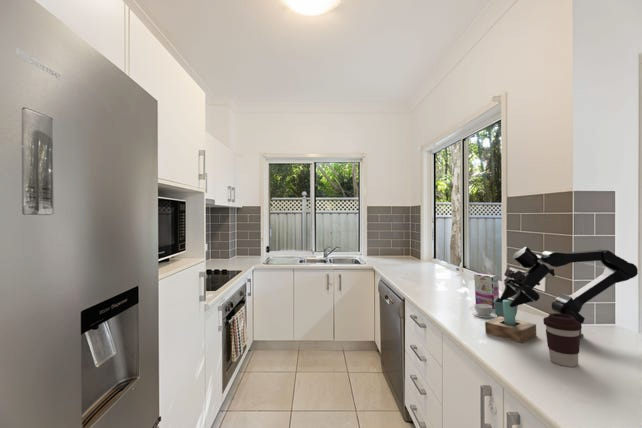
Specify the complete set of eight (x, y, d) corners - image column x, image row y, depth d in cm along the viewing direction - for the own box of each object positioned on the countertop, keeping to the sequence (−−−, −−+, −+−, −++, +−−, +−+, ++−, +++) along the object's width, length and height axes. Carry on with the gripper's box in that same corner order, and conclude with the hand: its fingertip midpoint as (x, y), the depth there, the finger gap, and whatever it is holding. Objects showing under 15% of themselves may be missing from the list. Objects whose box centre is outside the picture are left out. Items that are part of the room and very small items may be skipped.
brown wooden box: (536, 335, 125) (535, 324, 125) (522, 343, 118) (521, 331, 118) (500, 326, 136) (499, 316, 137) (485, 332, 130) (485, 321, 130)
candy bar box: (500, 307, 164) (498, 275, 164) (493, 308, 162) (492, 276, 162) (481, 302, 174) (480, 272, 174) (475, 303, 172) (473, 273, 172)
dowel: (518, 333, 127) (515, 301, 127) (513, 335, 125) (511, 303, 125) (507, 330, 130) (505, 299, 130) (503, 333, 128) (500, 301, 128)
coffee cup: (546, 353, 109) (544, 310, 110) (583, 360, 103) (581, 314, 103) (544, 363, 102) (541, 317, 102) (583, 372, 95) (581, 323, 96)
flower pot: (517, 324, 138) (516, 304, 138) (494, 321, 143) (493, 301, 143) (519, 319, 145) (518, 299, 145) (497, 316, 150) (496, 297, 150)
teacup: (496, 319, 146) (495, 309, 146) (472, 317, 150) (472, 307, 150) (494, 313, 155) (494, 303, 155) (472, 311, 159) (471, 302, 159)
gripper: (507, 259, 136) (481, 284, 138) (529, 265, 118) (498, 294, 119) (528, 276, 135) (501, 302, 137) (553, 286, 117) (522, 315, 118)
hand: (505, 303), depth 128 cm, fingers open, 9 cm apart
